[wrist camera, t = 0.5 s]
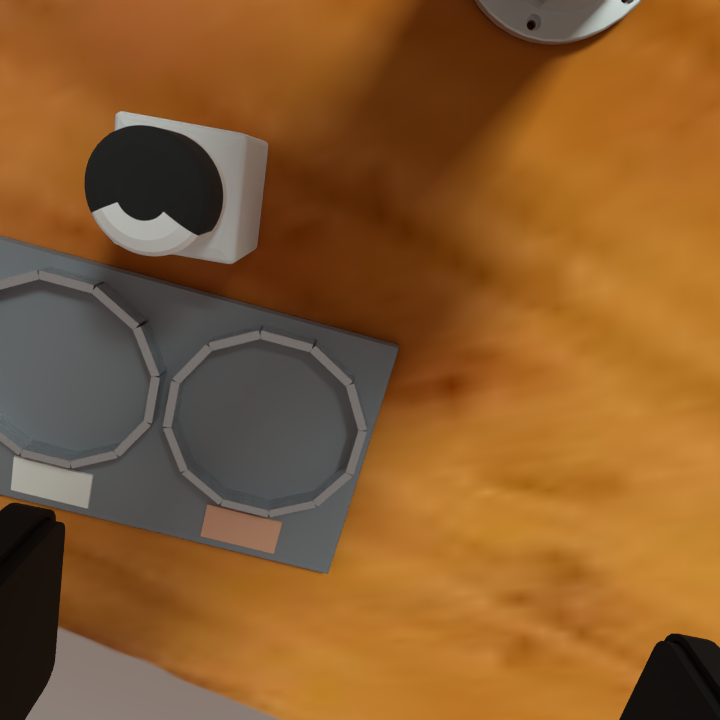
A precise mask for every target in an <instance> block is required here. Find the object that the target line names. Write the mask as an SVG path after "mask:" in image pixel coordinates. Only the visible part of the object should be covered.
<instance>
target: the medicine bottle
mask: <svg viewBox="0 0 720 720" xmlns="http://www.w3.org/2000/svg"><path fill="white" fill-rule="evenodd" d="M267 156H268V144H267V142H266V141H264V140H261V139H258V138H255V137H252V136H249V135H247V134H244V133H240V132H234V131H229V130H223V129H218V128H212V127H207V126H201V125H196V124H190V123H185V122H179V121H174V120H168V119H163V118H157V117H152V116H146V115H141V114H135V113H129V112H124V111H121V112H118V113H117V114H116V116H115V131H114V132H112V133H110V134H109V135H108V136H106V137H105V138H104V139H103V140H102V141H101V142H100V143H99V144H98V145H97V146H96V148H95V149H94V151H93V152H92V154H91V156H90V158H89V161H88V164H87V167H86V173H85V194H86V199H87V203H88V206H89V209H90V211H91V214H92V215H93V217H94V219H95V221H96V223H97V224H98V225H99V227H100V228H101V230H102V231H103V232H104V233H105V234H106V235H107V236H108V237H109V238H110V239H111V240H112V242H113V243H114V244H117V245H119V246H121V247H123V248H125V249H127V250H129V251H131V252H134V253H137V254H140V255H145V256H165V255H169V254H173V255H179V256H184V257H190V258H196V259H202V260H207V261H213V262H219V263H225V264H233V263H235V262H236V261H238V260H239V259H241V258H243V257H244V256H246V255H247V254H249V253H250V252H252V251H254V250H255V249H256V248H257V245H258V236H259V227H260V218H261V209H262V200H263V191H264V182H265V173H266V165H267Z"/></svg>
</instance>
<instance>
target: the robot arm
mask: <svg viewBox="0 0 720 720" xmlns="http://www.w3.org/2000/svg"><path fill="white" fill-rule="evenodd" d="M474 1H475V2H476V4H477V5H478V7H479V8H480V10H481V11H482V12H483V13H484V14H485V15H486V16H487V17H488V18H489V19H490V20H491V21H492V22H493V23H494V24H495V25H496V26H498V27H499V28H501V29H502V30H504V31H506V32H507V33H509V34H510V35H512V36H514V37H517V38H520V39H522V40H525V41H528V42H531V43H538V44H545V45H556V44H569V43H572V42H576V41H580V40H583V39H587V38H589V37H591V36H593V35H595V34H597V33H599V32H601V31H603V30H605V29H607V28H609V27H610V26H612V25H613V24H615V23H616V22H618V21H619V20H621V19H622V18H623V17H625V16H626V15H627V14H628V13H629V12H630V11H632V10H633V9H634V8H635V7H636V6H637V5H638V4H639V3H640V2H641V1H642V0H625V3H623V2H622V1H621V0H474ZM528 22H531V23H533V25H534V27H533V30H529V29H528V28H527V23H528ZM64 540H65V525H64V523H62V522H57V521H56V516H55V513H54V511H52V510H50V509H45V508H40V507H34V506H29V505H24V504H19V503H10V504H9V505H7V506H6V507H4V508H3V509H2V510H1V511H0V720H25V718H26V717H27V715H28V713H29V712H30V711H31V709H32V707H33V706H34V704H35V703H36V701H37V700H38V698H39V696H40V695H41V693H42V692H43V690H44V688H45V687H46V685H47V683H48V681H49V678H50V676H51V673H52V671H53V667H54V663H55V654H56V642H57V629H58V616H59V603H60V591H61V578H62V565H63V552H64ZM619 720H720V648H719V647H718V646H717V645H716V644H715V643H714V642H712V641H710V640H707V639H702V638H697V637H692V636H687V635H681V634H670V635H669V636H667V637H666V639H665V640H664V641H660V642H658V643H657V644H656V646H655V647H654V649H653V651H652V653H651V655H650V657H649V659H648V661H647V663H646V665H645V668H644V670H643V672H642V674H641V676H640V678H639V680H638V682H637V684H636V686H635V688H634V690H633V692H632V694H631V696H630V699H629V701H628V703H627V705H626V707H625V709H624V711H623V713H622V715H621V717H620V719H619Z"/></svg>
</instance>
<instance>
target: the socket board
mask: <svg viewBox="0 0 720 720" xmlns="http://www.w3.org/2000/svg"><path fill="white" fill-rule="evenodd" d="M46 267H54V268H58V269H62V270H65V271H69V272H73V273H76V274H80V275H84V276H87V277H91V278H95V279H98V280H102V281H104V283H106V282H107V283H108V284H109V285H110V286H111V287H112V288H113V289H114V290H116V291H117V292H118V293H119V294H120V295H121V296H122V297H123V298H124V299H126V300H127V301H128V302H129V303H130V304H131V305H132V306H133V307H135V308H136V309H137V310H138V311H139V312H140V313H141V314H142V315H143V316H145V317H146V318H147V320H146V321H145V322H148V321H149V323H150V325H151V328H152V331H153V333H154V336H155V338H156V341H157V344H158V346H159V349H160V351H161V354H162V357H163V359H164V362H165V365H166V367H167V369H166V371H167V375H166V381H165V386H164V392H163V397H162V403H161V408H160V414H159V416H158V418H157V419H156V420H155V421H154V422H153V424H152V425H151V426H150V427H149V428H148V429H147V430H146V431H145V432H144V433H143V434H142V435H141V436H140V437H139V438H138V439H137V440H136V441H135V442H134V443H133V444H132V445H131V446H130V447H129V448H128V449H127V450H126V451H125V452H124V453H123V454H122V455H121V456H120V457H118V458H115V459H111V460H107V461H102V462H98V463H94V464H89V465H85V466H81V467H76V468H72V467H71V468H66V467H62V466H58V465H54V464H50V463H46V462H42V461H38V460H34V459H30V458H26V457H22V456H21V453H20V454H19V455H18V454H16V453H15V452H14V451H12V450H11V449H10V448H9V447H7V446H6V445H5V444H4V443H2V442H1V441H0V495H4V496H9V497H13V498H17V499H21V500H25V501H29V502H33V503H37V504H42V505H46V506H50V507H54V508H58V509H62V510H66V511H70V512H75V513H79V514H83V515H87V516H91V517H95V518H99V519H103V520H108V521H112V522H116V523H120V524H124V525H128V526H132V527H136V528H141V529H145V530H149V531H153V532H157V533H161V534H165V535H169V536H174V537H178V538H182V539H186V540H190V541H194V542H198V543H202V544H207V545H211V546H215V547H219V548H223V549H227V550H231V551H235V552H240V553H244V554H248V555H252V556H256V557H260V558H264V559H268V560H273V561H277V562H281V563H285V564H289V565H293V566H297V567H301V568H306V569H310V570H314V571H318V572H322V573H326V574H328V572H329V569H330V566H331V562H332V559H333V556H334V553H335V550H336V547H337V543H338V540H339V537H340V534H341V531H342V527H343V524H344V521H345V518H346V515H347V512H348V508H349V505H350V502H351V499H352V496H353V493H354V489H355V486H356V483H357V480H358V477H359V474H360V470H361V467H362V464H363V461H364V458H365V454H366V451H367V448H368V445H369V442H370V439H371V435H372V432H373V429H374V426H375V423H376V420H377V416H378V413H379V410H380V407H381V404H382V401H383V397H384V394H385V391H386V388H387V385H388V381H389V378H390V375H391V372H392V369H393V366H394V362H395V359H396V356H397V353H398V350H399V346H398V344H394V343H391V342H387V341H383V340H380V339H376V338H373V337H369V336H365V335H362V334H358V333H354V332H351V331H347V330H343V329H340V328H336V327H332V326H329V325H325V324H321V323H318V322H314V321H310V320H307V319H303V318H299V317H296V316H292V315H289V314H285V313H281V312H278V311H274V310H270V309H267V308H263V307H259V306H256V305H252V304H248V303H245V302H241V301H237V300H234V299H230V298H226V297H223V296H219V295H215V294H212V293H208V292H205V291H201V290H197V289H194V288H190V287H186V286H183V285H179V284H175V283H172V282H168V281H164V280H161V279H157V278H153V277H150V276H146V275H142V274H139V273H135V272H132V271H128V270H124V269H121V268H117V267H113V266H110V265H106V264H102V263H99V262H95V261H91V260H88V259H84V258H80V257H77V256H73V255H69V254H66V253H62V252H58V251H55V250H51V249H48V248H44V247H40V246H37V245H33V244H29V243H26V242H22V241H18V240H15V239H11V238H7V237H4V236H0V280H1V279H5V278H9V277H12V276H16V275H20V274H23V273H27V272H31V271H35V270H38V269H42V268H46ZM145 322H144V323H145ZM260 325H263V328H264V326H265V325H268V326H271V327H275V328H279V329H282V330H286V331H290V332H293V333H297V334H301V335H304V336H308V337H312V338H315V341H314V343H315V342H316V341H317V340H318V341H319V342H320V343H321V344H322V345H323V346H325V347H326V348H327V349H328V350H329V351H330V352H331V353H332V354H333V355H334V356H335V357H336V358H337V359H338V360H339V361H340V362H341V363H342V364H343V365H344V366H345V367H346V368H347V369H348V370H349V371H350V372H351V373H353V377H355V380H356V383H357V387H358V390H359V394H360V398H361V401H362V405H363V409H364V412H365V416H366V419H367V433H366V436H365V439H364V443H363V446H362V449H361V452H360V455H359V459H358V462H357V465H356V468H355V472H354V475H352V478H350V479H349V480H348V481H347V482H346V483H345V484H343V485H342V486H341V487H340V488H339V489H338V490H336V491H335V492H334V493H333V494H332V495H331V496H330V497H328V498H327V499H326V500H325V501H324V502H323V503H321V504H320V505H319V506H317V505H316V508H311V509H307V510H302V511H297V512H293V513H288V514H283V515H279V516H274V517H270V516H269V514H268V517H264V516H260V515H256V514H252V513H248V512H244V511H240V510H236V509H232V508H228V507H224V506H221V503H222V502H221V503H220V504H219V505H218V504H217V503H216V502H215V501H214V500H212V499H211V498H210V497H209V496H208V495H206V494H205V493H204V492H203V491H202V490H200V489H199V488H198V487H197V486H196V485H194V484H193V483H192V482H191V481H190V480H188V479H187V478H186V477H185V476H184V475H182V473H183V471H182V472H180V470H179V467H178V465H177V462H176V460H175V457H174V455H173V452H172V450H171V447H170V445H169V442H168V440H167V437H166V435H165V432H164V430H163V428H164V426H163V422H164V417H165V412H166V406H167V401H168V395H169V390H170V385H171V381H172V380H173V378H174V376H175V375H176V374H177V373H178V372H179V371H180V370H181V369H182V368H183V367H184V366H185V365H186V364H187V363H188V362H189V361H190V360H191V359H192V358H193V357H194V356H195V355H196V354H197V353H198V352H199V351H200V350H201V349H202V348H203V347H204V346H205V345H206V344H207V343H208V342H209V341H210V340H211V339H213V338H214V337H216V336H220V335H224V334H228V333H232V332H236V331H240V330H244V329H248V328H252V327H256V326H260ZM150 381H151V375H150V372H149V370H148V367H147V365H146V362H145V359H144V357H143V354H142V352H141V349H140V347H139V344H138V342H137V339H136V337H135V334H134V332H133V329H131V328H130V327H129V326H128V325H127V324H126V323H125V322H124V321H122V320H121V319H120V318H119V317H118V316H117V315H116V314H114V313H113V312H112V311H111V310H110V309H109V308H108V307H107V306H105V305H104V304H103V303H102V302H101V301H100V300H99V299H98V298H96V297H95V296H94V295H93V294H92V293H88V292H85V291H81V290H77V289H74V288H70V287H66V286H63V285H59V284H55V283H51V282H48V281H44V280H40V279H38V280H34V281H31V282H27V283H23V284H19V285H16V286H12V287H8V288H5V289H4V290H3V291H2V292H1V294H0V414H2V415H3V416H4V417H5V418H7V419H8V420H9V421H10V422H12V423H13V424H14V425H15V426H17V427H18V428H19V429H20V430H22V431H23V432H24V433H25V434H27V435H28V436H29V437H31V438H32V439H33V440H35V441H39V442H43V443H47V444H51V445H55V446H59V447H63V448H67V449H71V450H75V451H79V452H81V451H85V450H89V449H94V448H98V447H102V446H106V445H111V444H115V443H119V442H123V441H124V440H125V439H126V438H127V437H128V436H129V434H130V433H131V432H132V431H133V430H134V429H135V428H136V427H137V426H138V425H139V424H140V423H141V422H142V421H143V420H144V416H145V410H146V404H147V398H148V392H149V387H150ZM178 420H179V423H180V426H181V428H182V431H183V433H184V436H185V439H186V441H187V444H188V446H189V449H190V451H191V454H192V457H193V459H194V460H195V461H196V462H197V463H198V464H199V465H201V466H202V467H203V468H204V469H205V470H206V471H208V472H209V473H210V474H211V475H212V476H214V477H215V478H216V479H217V480H218V481H219V482H221V483H222V484H223V485H224V486H225V487H227V488H228V489H231V490H235V491H239V492H243V493H247V494H251V495H255V496H259V497H263V498H267V499H271V500H273V499H277V498H282V497H286V496H291V495H295V494H300V493H305V492H309V491H314V490H316V489H317V488H318V487H319V486H320V485H321V484H322V483H324V482H325V481H326V480H327V479H328V478H329V477H330V476H332V475H333V474H334V473H335V472H336V471H337V470H338V469H340V468H341V467H342V466H343V465H344V464H345V463H346V462H347V459H348V456H349V453H350V449H351V446H352V443H353V440H354V436H355V433H356V430H357V424H356V420H355V417H354V413H353V410H352V406H351V402H350V399H349V395H348V392H347V388H346V386H345V385H344V384H343V383H342V382H341V381H340V380H339V379H338V378H337V377H335V376H334V375H333V374H332V373H331V372H330V371H329V370H328V369H327V368H326V367H325V366H324V365H323V364H322V363H321V362H320V361H319V360H318V359H317V358H316V357H315V356H313V355H312V354H311V353H310V352H307V351H303V350H300V349H296V348H292V347H289V346H285V345H281V344H278V343H274V342H270V341H266V340H263V339H258V340H254V341H250V342H246V343H242V344H238V345H234V346H230V347H226V348H222V349H217V350H213V351H211V352H210V353H209V354H208V355H207V356H206V357H205V359H204V360H203V361H202V362H201V363H200V364H199V365H198V366H197V367H196V368H195V369H194V370H193V371H192V372H191V373H190V374H189V375H188V376H187V377H186V380H185V385H184V390H183V396H182V401H181V406H180V411H179V416H178Z"/></svg>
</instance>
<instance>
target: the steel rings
mask: <svg viewBox="0 0 720 720" xmlns="http://www.w3.org/2000/svg"><path fill="white" fill-rule="evenodd" d="M38 279H40V280H44V281H48V282H51V283H55V284H59V285H63V286H66V287H70V288H74V289H77V290H81V291H85V292H88V293H92V294H93V295H94V296H95V297H96V298H98V299H99V300H100V301H101V302H102V303H103V304H104V305H105V306H107V307H108V308H109V309H110V310H111V311H112V312H113V313H114V314H116V315H117V316H118V317H119V318H120V319H121V320H122V321H124V322H125V323H126V324H127V325H128V326H129V327H130V328H131V329H133V332H134V334H135V337H136V339H137V342H138V344H139V347H140V349H141V352H142V354H143V357H144V359H145V362H146V365H147V367H148V370H149V372H150V375H151V381H150V387H149V392H148V398H147V404H146V410H145V416H144V420H143V421H142V422H141V423H140V424H139V425H138V426H137V427H136V428H135V429H134V430H133V431H132V432H131V433H130V434H129V436H128V437H127V438H126V439H125V440H124V441H123V442H119V443H115V444H111V445H106V446H102V447H98V448H94V449H89V450H85V451H81V452H79V451H75V450H71V449H67V448H63V447H59V446H55V445H51V444H47V443H43V442H39V441H35V440H33V439H32V438H31V437H29V436H28V435H27V434H25V433H24V432H23V431H22V430H20V429H19V428H18V427H17V426H15V425H14V424H13V423H12V422H10V421H9V420H8V419H7V418H5V417H4V416H3V415H2V414H0V441H1V442H2V443H4V444H5V445H6V446H7V447H9V448H10V449H11V450H12V451H14V452H15V453H16V454H18V455H19V454H20V453H21V456H22V457H26V458H30V459H34V460H38V461H42V462H46V463H50V464H54V465H58V466H62V467H66V468H71V467H72V468H76V467H81V466H85V465H89V464H94V463H98V462H102V461H107V460H111V459H115V458H118V457H120V456H121V455H122V454H123V453H124V452H125V451H126V450H127V449H128V448H129V447H130V446H131V445H132V444H133V443H134V442H135V441H136V440H137V439H138V438H139V437H140V436H141V435H142V434H143V433H144V432H145V431H146V430H147V429H148V428H149V427H150V426H151V425H152V424H153V422H154V421H155V420H156V419H157V418H158V416H159V414H160V408H161V403H162V397H163V392H164V386H165V381H166V375H167V371H166V369H167V367H166V365H165V362H164V359H163V357H162V354H161V351H160V349H159V346H158V344H157V341H156V338H155V336H154V333H153V331H152V328H151V325H150V323H149V321H148V322H145V321H146V320H147V318H146V317H145V316H143V315H142V314H141V313H140V312H139V311H138V310H137V309H136V308H135V307H133V306H132V305H131V304H130V303H129V302H128V301H127V300H126V299H124V298H123V297H122V296H121V295H120V294H119V293H118V292H117V291H116V290H114V289H113V288H112V287H111V286H110V285H109V284H108V283H107V282H106V283H104V281H102V280H98V279H95V278H91V277H87V276H84V275H80V274H76V273H73V272H69V271H65V270H62V269H58V268H54V267H46V268H42V269H38V270H35V271H31V272H27V273H23V274H20V275H16V276H12V277H9V278H5V279H1V280H0V294H1V292H2V291H3V290H4V289H5V288H8V287H12V286H16V285H19V284H23V283H27V282H31V281H34V280H38ZM144 322H145V323H144ZM258 339H263V340H266V341H270V342H274V343H278V344H281V345H285V346H289V347H292V348H296V349H300V350H303V351H307V352H310V353H311V354H312V355H313V356H315V357H316V358H317V359H318V360H319V361H320V362H321V363H322V364H323V365H324V366H325V367H326V368H327V369H328V370H329V371H330V372H331V373H332V374H333V375H334V376H335V377H337V378H338V379H339V380H340V381H341V382H342V383H343V384H344V385H345V386H346V388H347V392H348V395H349V399H350V402H351V406H352V410H353V413H354V417H355V420H356V424H357V430H356V433H355V436H354V440H353V443H352V446H351V449H350V453H349V456H348V459H347V462H346V463H345V464H344V465H343V466H342V467H341V468H340V469H338V470H337V471H336V472H335V473H334V474H333V475H332V476H330V477H329V478H328V479H327V480H326V481H325V482H324V483H322V484H321V485H320V486H319V487H318V488H317V489H316V490H314V491H309V492H305V493H300V494H295V495H291V496H286V497H282V498H277V499H273V500H271V499H267V498H263V497H259V496H255V495H251V494H247V493H243V492H239V491H235V490H231V489H228V488H227V487H225V486H224V485H223V484H222V483H221V482H219V481H218V480H217V479H216V478H215V477H214V476H212V475H211V474H210V473H209V472H208V471H206V470H205V469H204V468H203V467H202V466H201V465H199V464H198V463H197V462H196V461H195V460H194V459H193V457H192V454H191V451H190V449H189V446H188V444H187V441H186V439H185V436H184V433H183V431H182V428H181V426H180V423H179V420H178V416H179V411H180V406H181V401H182V396H183V390H184V385H185V380H186V377H187V376H188V375H189V374H190V373H191V372H192V371H193V370H194V369H195V368H196V367H197V366H198V365H199V364H200V363H201V362H202V361H203V360H204V359H205V357H206V356H207V355H208V354H209V353H210V352H211V351H213V350H217V349H222V348H226V347H230V346H234V345H238V344H242V343H246V342H250V341H254V340H258ZM314 341H315V338H312V337H308V336H304V335H301V334H297V333H293V332H290V331H286V330H282V329H279V328H275V327H271V326H268V325H265V326H264V328H263V325H260V326H256V327H252V328H248V329H244V330H240V331H236V332H232V333H228V334H224V335H220V336H216V337H214V338H213V339H211V340H210V341H209V342H208V343H207V344H206V345H205V346H204V347H203V348H202V349H201V350H200V351H199V352H198V353H197V354H196V355H195V356H194V357H193V358H192V359H191V360H190V361H189V362H188V363H187V364H186V365H185V366H184V367H183V368H182V369H181V370H180V371H179V372H178V373H177V374H176V375H175V376H174V378H173V380H172V381H171V385H170V390H169V395H168V401H167V406H166V412H165V417H164V422H163V426H164V428H163V430H164V432H165V435H166V437H167V440H168V442H169V445H170V447H171V450H172V452H173V455H174V457H175V460H176V462H177V465H178V467H179V470H180V472H182V471H183V473H182V475H184V476H185V477H186V478H187V479H188V480H190V481H191V482H192V483H193V484H194V485H196V486H197V487H198V488H199V489H200V490H202V491H203V492H204V493H205V494H206V495H208V496H209V497H210V498H211V499H212V500H214V501H215V502H216V503H217V504H218V505H219V504H220V503H221V502H222V503H221V506H224V507H228V508H232V509H236V510H240V511H244V512H248V513H252V514H256V515H260V516H264V517H268V514H269V516H270V517H274V516H279V515H283V514H288V513H293V512H297V511H302V510H307V509H311V508H316V505H317V506H319V505H320V504H321V503H323V502H324V501H325V500H326V499H327V498H328V497H330V496H331V495H332V494H333V493H334V492H335V491H336V490H338V489H339V488H340V487H341V486H342V485H343V484H345V483H346V482H347V481H348V480H349V479H350V478H352V475H354V472H355V468H356V465H357V462H358V459H359V455H360V452H361V449H362V446H363V443H364V439H365V436H366V433H367V419H366V416H365V412H364V409H363V405H362V401H361V398H360V394H359V390H358V387H357V383H356V380H355V377H353V373H351V372H350V371H349V370H348V369H347V368H346V367H345V366H344V365H343V364H342V363H341V362H340V361H339V360H338V359H337V358H336V357H335V356H334V355H333V354H332V353H331V352H330V351H329V350H328V349H327V348H326V347H325V346H323V345H322V344H321V343H320V342H319V341H318V340H317V341H316V342H315V343H314Z"/></svg>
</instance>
